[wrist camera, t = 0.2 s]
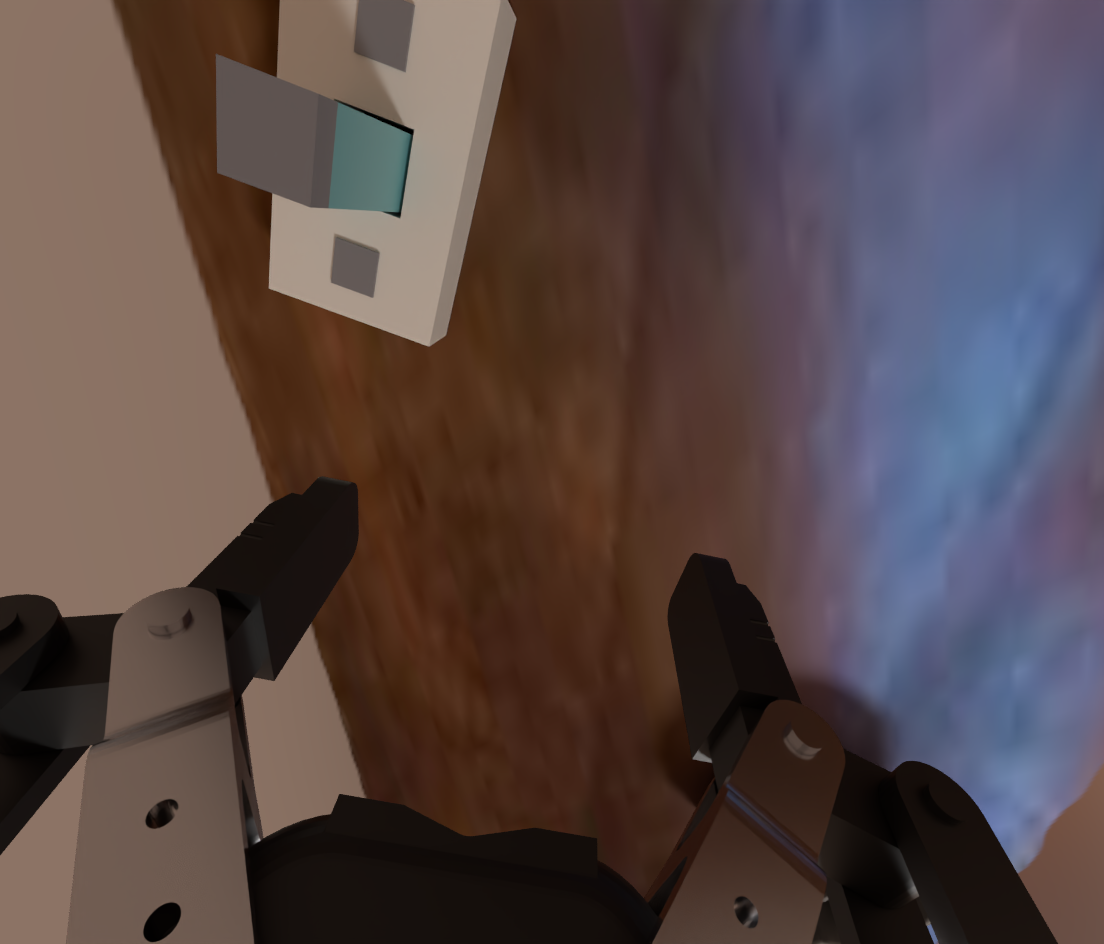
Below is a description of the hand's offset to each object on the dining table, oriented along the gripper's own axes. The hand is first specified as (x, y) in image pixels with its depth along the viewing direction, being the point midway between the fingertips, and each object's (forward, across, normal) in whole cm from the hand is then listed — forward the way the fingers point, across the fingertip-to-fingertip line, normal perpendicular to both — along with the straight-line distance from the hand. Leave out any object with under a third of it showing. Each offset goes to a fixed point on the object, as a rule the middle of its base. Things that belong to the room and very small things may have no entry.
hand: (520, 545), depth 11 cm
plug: (+30, +14, -6) cm, 33 cm away
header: (+30, +14, -6) cm, 33 cm away
